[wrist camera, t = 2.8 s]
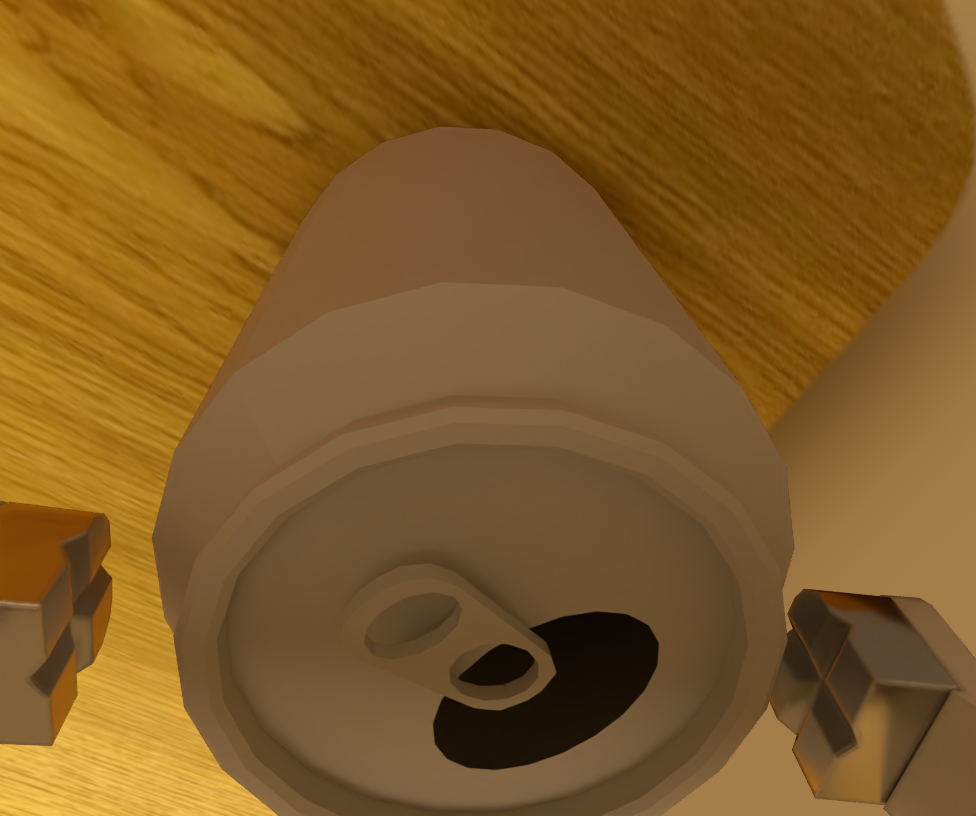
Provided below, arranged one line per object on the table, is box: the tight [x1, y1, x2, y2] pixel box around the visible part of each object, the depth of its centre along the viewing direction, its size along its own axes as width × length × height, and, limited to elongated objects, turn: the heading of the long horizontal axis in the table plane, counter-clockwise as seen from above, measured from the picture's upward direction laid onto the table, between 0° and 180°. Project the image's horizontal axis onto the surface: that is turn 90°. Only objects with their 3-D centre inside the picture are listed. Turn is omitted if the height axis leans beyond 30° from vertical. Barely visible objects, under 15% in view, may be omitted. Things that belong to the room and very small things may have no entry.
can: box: [152, 126, 794, 816], centre depth 14 cm, size 8×8×12 cm
